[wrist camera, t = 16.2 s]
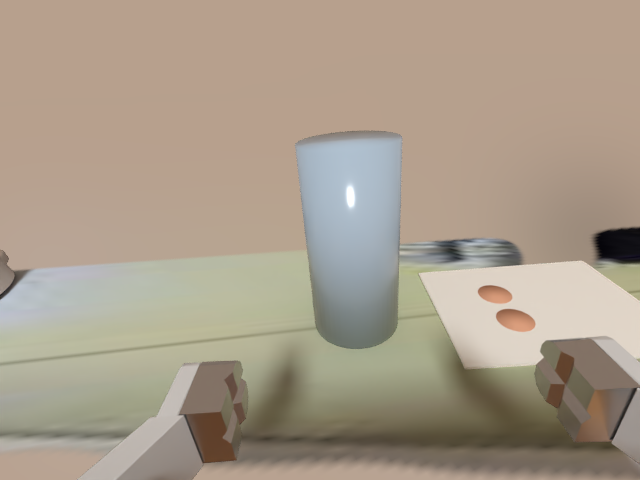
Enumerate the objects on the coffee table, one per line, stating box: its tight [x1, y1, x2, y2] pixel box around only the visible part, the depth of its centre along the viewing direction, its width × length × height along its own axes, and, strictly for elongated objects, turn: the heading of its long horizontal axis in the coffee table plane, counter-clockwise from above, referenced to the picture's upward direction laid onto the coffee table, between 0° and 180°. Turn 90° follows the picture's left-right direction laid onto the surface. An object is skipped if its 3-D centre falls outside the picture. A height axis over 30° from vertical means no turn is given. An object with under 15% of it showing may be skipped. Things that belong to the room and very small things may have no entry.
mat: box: [418, 261, 640, 369], centre depth 23 cm, size 13×10×1 cm
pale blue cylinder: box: [295, 131, 402, 349], centre depth 20 cm, size 6×6×12 cm
